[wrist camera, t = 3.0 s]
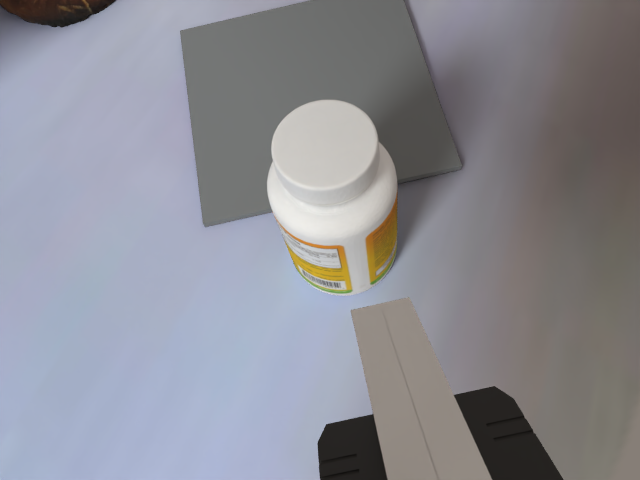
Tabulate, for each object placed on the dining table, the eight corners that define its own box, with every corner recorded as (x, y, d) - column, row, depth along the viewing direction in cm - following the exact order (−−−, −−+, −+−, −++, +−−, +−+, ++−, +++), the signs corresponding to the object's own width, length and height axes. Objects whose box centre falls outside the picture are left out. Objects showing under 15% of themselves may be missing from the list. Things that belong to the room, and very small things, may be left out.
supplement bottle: (375, 188, 32) (368, 64, 23) (413, 277, 29) (421, 176, 21) (279, 221, 32) (235, 109, 23) (310, 313, 29) (274, 227, 21)
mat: (461, 169, 32) (461, 165, 31) (205, 226, 32) (203, 223, 32) (396, -15, 38) (396, -20, 37) (182, 35, 38) (180, 30, 38)
